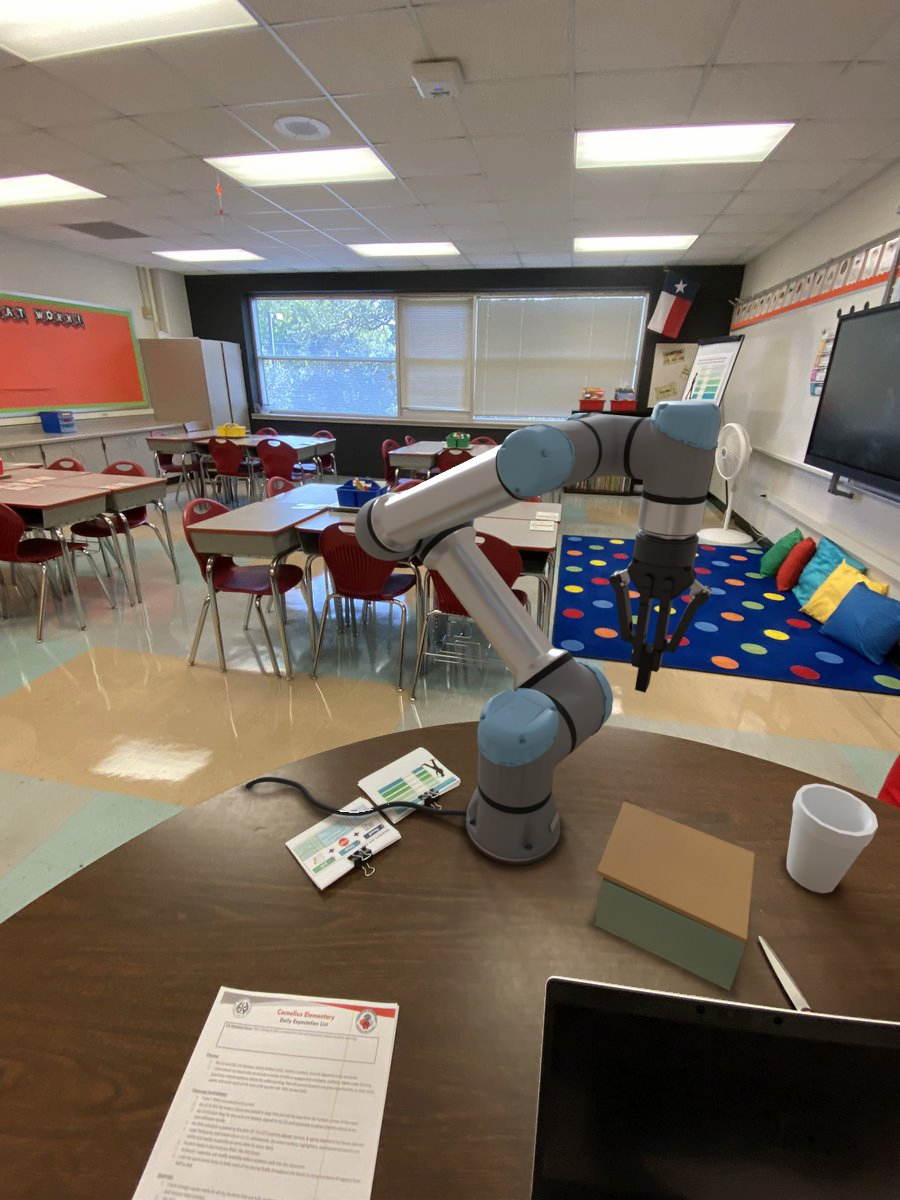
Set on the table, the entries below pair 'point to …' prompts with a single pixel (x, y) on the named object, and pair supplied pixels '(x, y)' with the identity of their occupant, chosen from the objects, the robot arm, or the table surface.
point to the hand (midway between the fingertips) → (642, 686)
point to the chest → (668, 934)
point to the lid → (681, 869)
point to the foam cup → (827, 835)
